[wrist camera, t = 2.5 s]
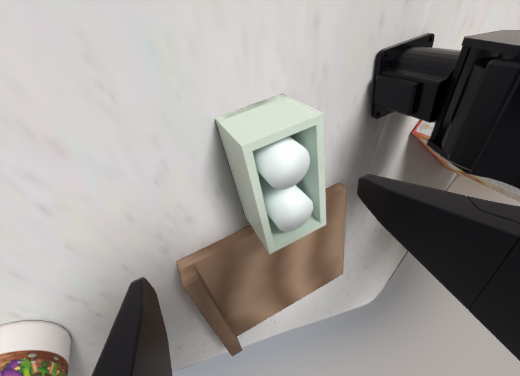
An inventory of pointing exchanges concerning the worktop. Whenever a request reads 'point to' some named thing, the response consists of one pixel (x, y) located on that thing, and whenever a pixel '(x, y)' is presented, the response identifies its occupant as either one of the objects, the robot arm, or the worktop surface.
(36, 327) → the milk bottle
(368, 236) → the worktop surface
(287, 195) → the pale green crate
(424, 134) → the cracker box
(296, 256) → the walnut shelf
